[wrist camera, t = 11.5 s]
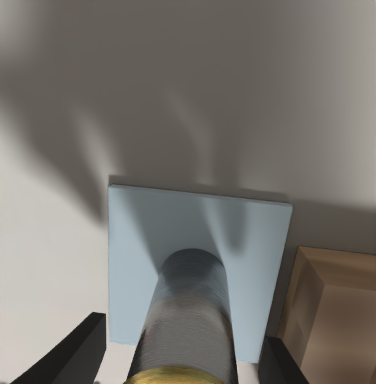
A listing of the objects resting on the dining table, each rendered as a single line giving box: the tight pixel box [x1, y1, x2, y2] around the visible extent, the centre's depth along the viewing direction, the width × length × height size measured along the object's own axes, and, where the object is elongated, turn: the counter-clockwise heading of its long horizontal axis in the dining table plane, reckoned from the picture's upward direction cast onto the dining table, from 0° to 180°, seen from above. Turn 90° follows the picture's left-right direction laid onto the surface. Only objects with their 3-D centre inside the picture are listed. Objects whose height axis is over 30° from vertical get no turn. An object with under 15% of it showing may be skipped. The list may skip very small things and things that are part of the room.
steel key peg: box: [123, 248, 239, 384], centre depth 11 cm, size 4×4×8 cm
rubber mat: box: [108, 184, 293, 364], centre depth 15 cm, size 11×10×1 cm
